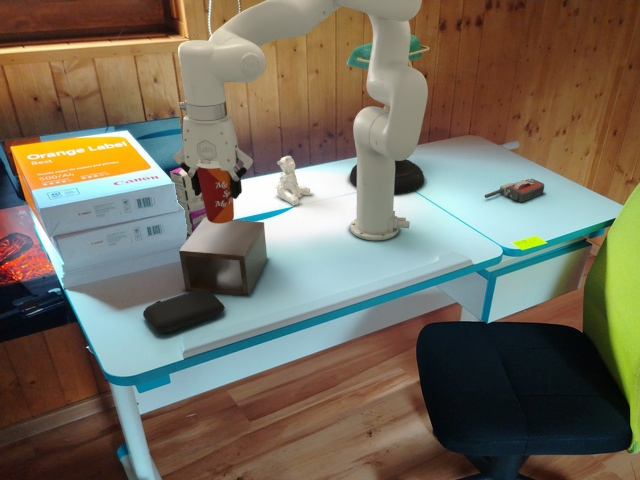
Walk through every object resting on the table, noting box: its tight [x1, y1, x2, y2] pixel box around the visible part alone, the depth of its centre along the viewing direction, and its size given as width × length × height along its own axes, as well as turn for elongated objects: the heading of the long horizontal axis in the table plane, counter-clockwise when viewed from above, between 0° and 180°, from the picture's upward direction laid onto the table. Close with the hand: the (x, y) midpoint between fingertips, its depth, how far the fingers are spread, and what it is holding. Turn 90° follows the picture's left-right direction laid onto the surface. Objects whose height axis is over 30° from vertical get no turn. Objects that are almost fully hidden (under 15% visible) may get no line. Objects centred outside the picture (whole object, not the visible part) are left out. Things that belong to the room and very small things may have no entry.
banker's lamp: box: [346, 34, 430, 196], centre depth 181 cm, size 26×23×40 cm
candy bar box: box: [169, 167, 207, 236], centre depth 157 cm, size 11×5×16 cm, turn 148°
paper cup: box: [196, 159, 235, 224], centre depth 131 cm, size 8×8×14 cm
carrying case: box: [142, 289, 226, 336], centre depth 129 cm, size 11×3×15 cm
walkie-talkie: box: [484, 178, 545, 203], centre depth 186 cm, size 9×4×20 cm
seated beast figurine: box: [275, 155, 311, 206], centre depth 175 cm, size 10×9×12 cm
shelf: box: [178, 218, 268, 297], centre depth 140 cm, size 14×16×10 cm
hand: (217, 194), depth 132 cm, fingers closed on paper cup, 7 cm apart
